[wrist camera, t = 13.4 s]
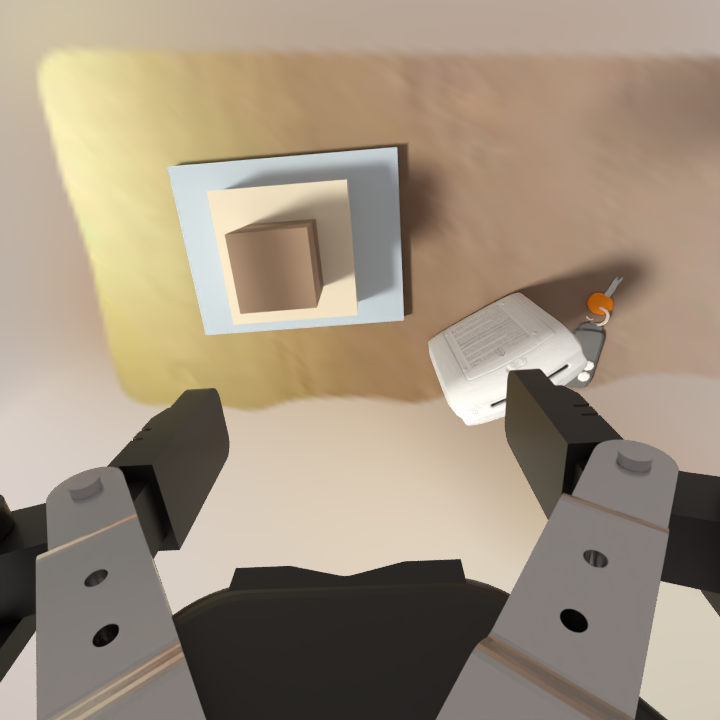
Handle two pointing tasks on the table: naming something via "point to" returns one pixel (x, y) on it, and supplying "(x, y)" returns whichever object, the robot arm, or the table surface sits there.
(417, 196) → the table surface
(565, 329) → the photo printer
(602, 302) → the key chain
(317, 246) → the walnut block
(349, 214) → the butter dish
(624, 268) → the table surface
